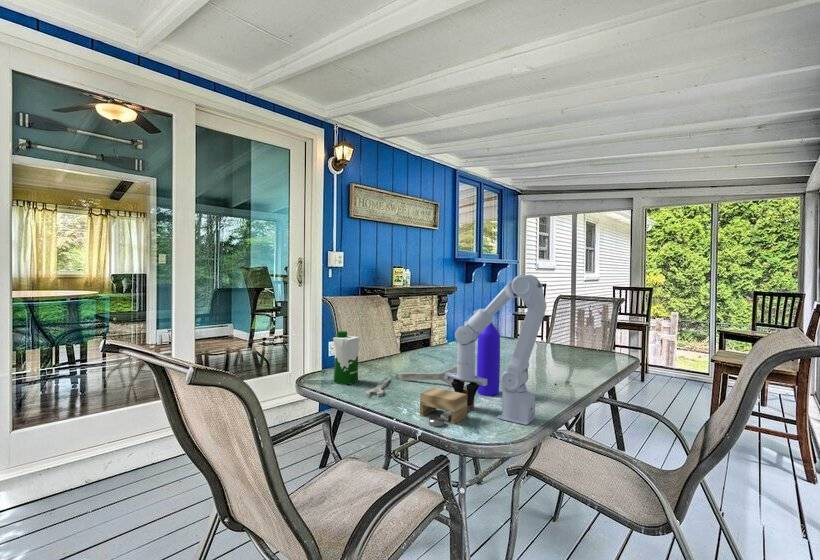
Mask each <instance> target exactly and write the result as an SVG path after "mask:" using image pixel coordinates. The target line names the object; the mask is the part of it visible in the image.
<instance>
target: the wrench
mask: <svg viewBox="0 0 820 560" xmlns="http://www.w3.org/2000/svg"><path fill="white" fill-rule="evenodd" d="M447 372H451V373H457V365H455V366H453V367H451V368H448V369H447V370H445V371H441V372H399V373H398V372H397V373H396V374H395V379H396V380H397V381H400V380H402V381H401V382H403V381H405V382H406V381H442V382H444V383H446V384H448V387H450V388H453V386H452V385H451V382H453V380H452V379H445V373H447ZM398 376H400V377H401V378H399V377H398Z"/></svg>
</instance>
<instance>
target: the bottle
mask: <svg viewBox="0 0 820 560" xmlns="http://www.w3.org/2000/svg"><path fill="white" fill-rule="evenodd" d="M476 353H477V354H476V355H477V356H476V359H477V360H476V376H478V377H481V378H485V379H487V385H486V386H482V385H480V386H479V388H478V390H477V392H476V393H478V394H479V395H480V396H484V397H494V396H498V395H499V392H500V377H501V375H500V374H501V371H500V370H501V367H500V366H501V335H500V332H499V330H498V329H497V328H496V325H494V324H493V322H492V323H490V324H489V325H488V326H487V327H486V328H485V329H484V330H483V331H482V332H481V333H480V334H479V335H478V338H477V352H476Z"/></svg>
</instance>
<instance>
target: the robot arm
mask: <svg viewBox="0 0 820 560" xmlns="http://www.w3.org/2000/svg"><path fill="white" fill-rule="evenodd" d="M543 288H544V287H543V284H542V282H541V281H540V280H539V279H538V278H537V277H536V276H535V275H532V274H519V275H517V276H515V277H514V278H513V279H512V280H511V281H509V282H508V283H507V284H506V285H505V286H504V287H503V288H502V289H501V290H500V292H498V294H497V295H496V296H495V297H494V298H493V299H492V300H491V302H490V303H489V304H488V305H487V306H486V307H485V308H478V309H475V310H474V311H473V312H472V313H473V315H471V317H470V318H469V319H468V320H465V321H464V322H463V325H461V326H458V327H457V329H456V330H455V332H454V339H455V340H456V341H457V349H456V351H457V356H456V358H457V359H456V366H457V373H451V372H447V373H445V379H452V380H453V382H451V385H452V386H453V387H452V388H453V390H454V392H458V393H462V389H465V388H467V393H468V406H471V405H473V400H474V401H475V399H474V397H476V394H477V393H478V392H477V390H478V388H479V386H480V385H482V386H486V385H487V379H485V378H481V377H478V376H477V375H475V374H476V373H475V371H476V341H478V335H479V334H480V333H481V332H482V331H483V330H484V329H485V328H486V327H487V326H488V325H489V324H490V323H492V324H493V320H494V319H493V318H494V317H493V316H494V315H495V314H496V313H497V312H498V311H500V310H501V309H502V307H504V306H505V305H506V304H507V303H508V302H509V301H511V300H512V299H515V298H519V299H520V300H522V301H523V303H524V305H525V307H526V308H527V311H526V314H525V316H524V320H523V323H522V325H521V329H520V331H519V334H518V335H519V336H518V339H517V341H516V344H515V348H514V351H513V353H512V357H511V358H510V361H509V362H508V364H507V365H506V366H507V367H506V368H505V370H504V371H503V372H501V373H500V374H501V375H500V379H499V382H500V384H501V386H502V388H501V390H502V393H501V413H500V414H499V415H498V416H496V418H497V419H498V420H503V421H509V422H511V423H517V424H521V425H524V426H525V425H526V426H527V425H529V424H530V423H531V422H532V421H533V420H535V419H536V416H535V415H536V395H535V393H533V392H532V391H528V390H527V385H526V383H527V382H528V380H529V367H530V358H531V355H532V351H533V349H534V346H535V343H536V340H537V337H538V336H539V335H538V334H539V331H540V328H541V326H542V322H543V319H544V316H545V313H546V309H547V302H546V298H545V295H544V289H543ZM466 383H468V384H466ZM465 384H466V385H465Z"/></svg>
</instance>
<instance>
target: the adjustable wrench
mask: <svg viewBox="0 0 820 560" xmlns="http://www.w3.org/2000/svg"><path fill="white" fill-rule="evenodd" d="M389 381H390V382H391V377H384V378H383V379H382V380H381V381H380V382H379V383H378V384H377V385H376V386H375V387H374V388H372V389H371V388H370V389H368V390H366V391H365V392H364V395H365V396H364V397H366V398H371V396H373V395H372V394H377V395H376V396H377V397H378V398H380V397H383V396H384V395H385V394H386V392H385V390H384V388H385V387H386V386H387V385H389V383H390V382H389ZM388 382H389V383H388ZM383 394H384V395H383Z"/></svg>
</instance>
